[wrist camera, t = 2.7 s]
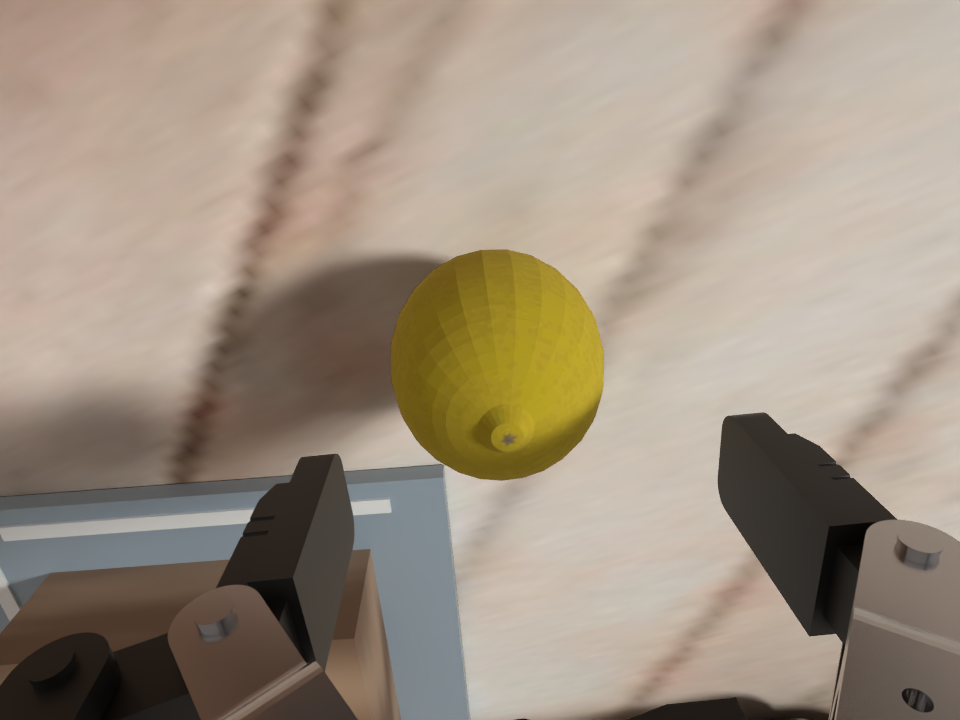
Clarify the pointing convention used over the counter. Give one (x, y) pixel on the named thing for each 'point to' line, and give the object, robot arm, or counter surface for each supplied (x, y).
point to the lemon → (497, 365)
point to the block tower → (170, 587)
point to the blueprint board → (216, 532)
